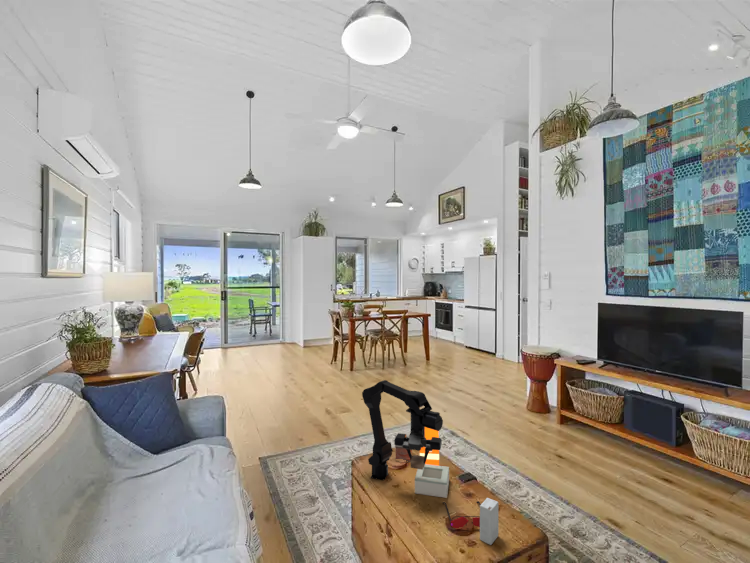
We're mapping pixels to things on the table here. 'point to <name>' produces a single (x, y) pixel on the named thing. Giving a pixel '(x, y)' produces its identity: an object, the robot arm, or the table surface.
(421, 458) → the brown square block
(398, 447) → the ornate red flask
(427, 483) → the slot box
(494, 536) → the skincare box
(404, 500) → the table surface
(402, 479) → the table surface
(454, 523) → the glasses
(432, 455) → the orange juice
